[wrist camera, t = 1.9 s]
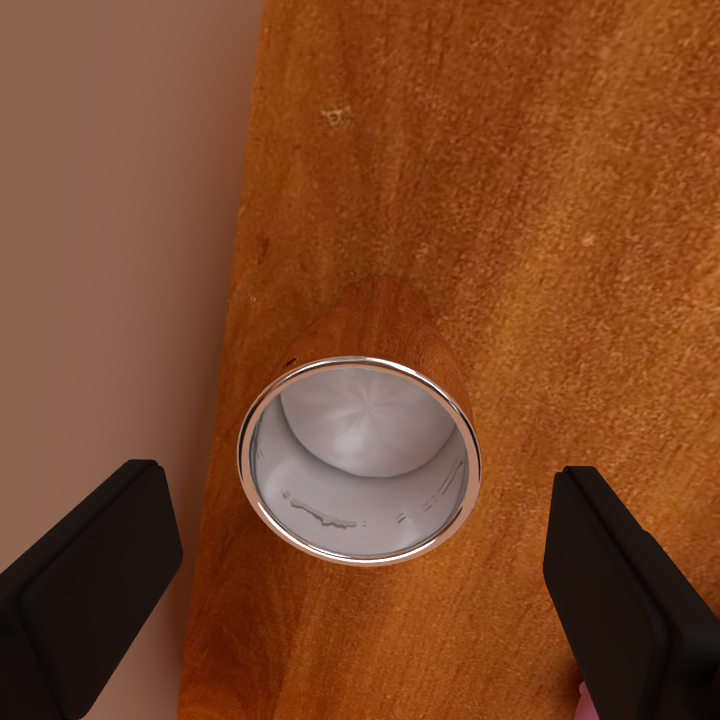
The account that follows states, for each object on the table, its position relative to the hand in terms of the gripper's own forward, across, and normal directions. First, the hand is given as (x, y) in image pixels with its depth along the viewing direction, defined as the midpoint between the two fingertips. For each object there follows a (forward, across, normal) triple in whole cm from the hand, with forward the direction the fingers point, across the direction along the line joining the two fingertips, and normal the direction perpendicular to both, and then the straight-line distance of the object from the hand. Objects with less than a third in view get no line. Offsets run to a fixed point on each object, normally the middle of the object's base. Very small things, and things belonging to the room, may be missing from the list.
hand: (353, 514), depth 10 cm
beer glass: (+16, 0, 0) cm, 16 cm away
